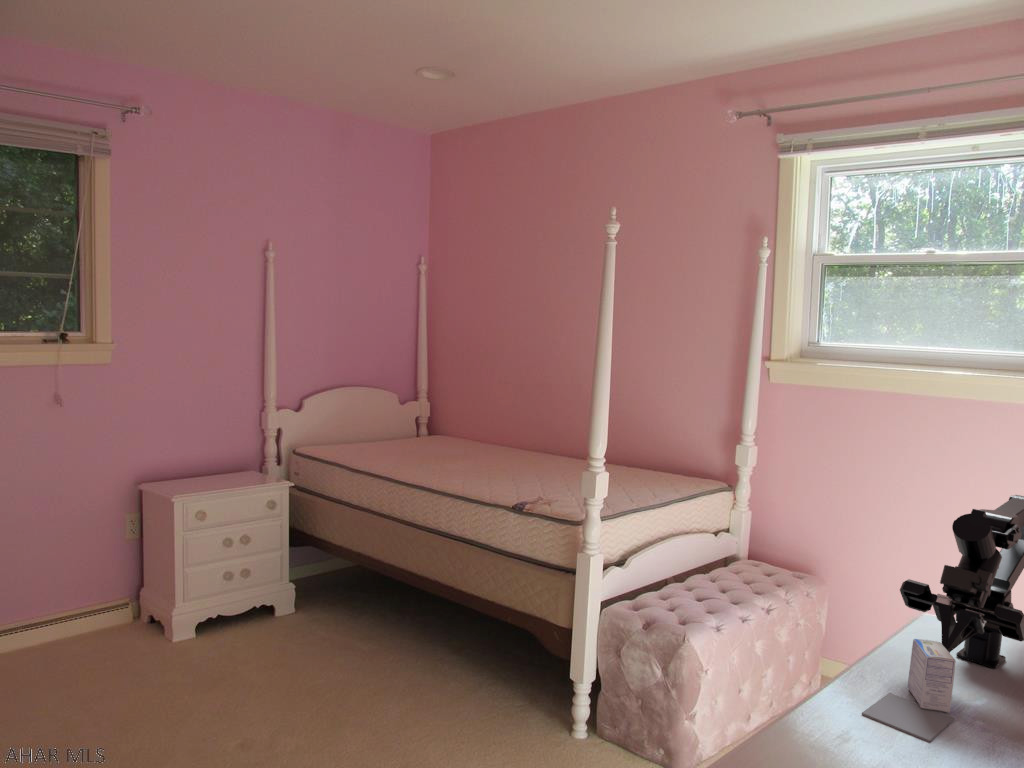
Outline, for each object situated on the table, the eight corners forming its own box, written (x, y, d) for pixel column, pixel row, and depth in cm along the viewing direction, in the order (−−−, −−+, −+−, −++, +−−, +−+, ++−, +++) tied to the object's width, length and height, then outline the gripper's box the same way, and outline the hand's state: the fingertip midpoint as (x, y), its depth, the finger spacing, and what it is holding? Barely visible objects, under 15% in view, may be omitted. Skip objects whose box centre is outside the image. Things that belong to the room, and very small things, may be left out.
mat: (889, 694, 135) (889, 692, 135) (954, 719, 128) (955, 717, 128) (861, 714, 128) (861, 712, 128) (929, 742, 121) (929, 740, 121)
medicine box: (950, 714, 129) (957, 660, 128) (919, 709, 130) (926, 655, 129) (935, 692, 137) (941, 641, 136) (906, 687, 138) (912, 637, 137)
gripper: (910, 534, 145) (876, 608, 139) (1031, 563, 132) (1000, 647, 125) (922, 568, 151) (891, 642, 145) (1038, 600, 138) (1010, 682, 132)
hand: (944, 652), depth 137 cm, fingers closed
